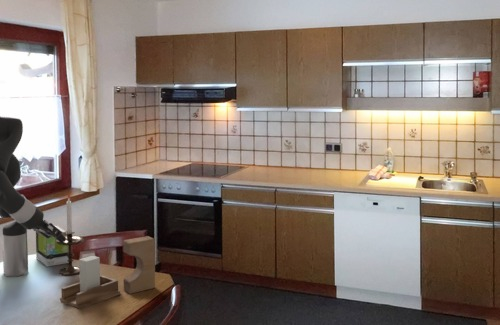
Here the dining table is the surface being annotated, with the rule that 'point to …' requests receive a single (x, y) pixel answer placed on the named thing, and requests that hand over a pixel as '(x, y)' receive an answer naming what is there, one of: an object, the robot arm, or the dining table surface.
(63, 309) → the dining table surface
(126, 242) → the decorative block
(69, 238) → the candlestick
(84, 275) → the white rectangular block
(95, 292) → the tray
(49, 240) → the tea box
